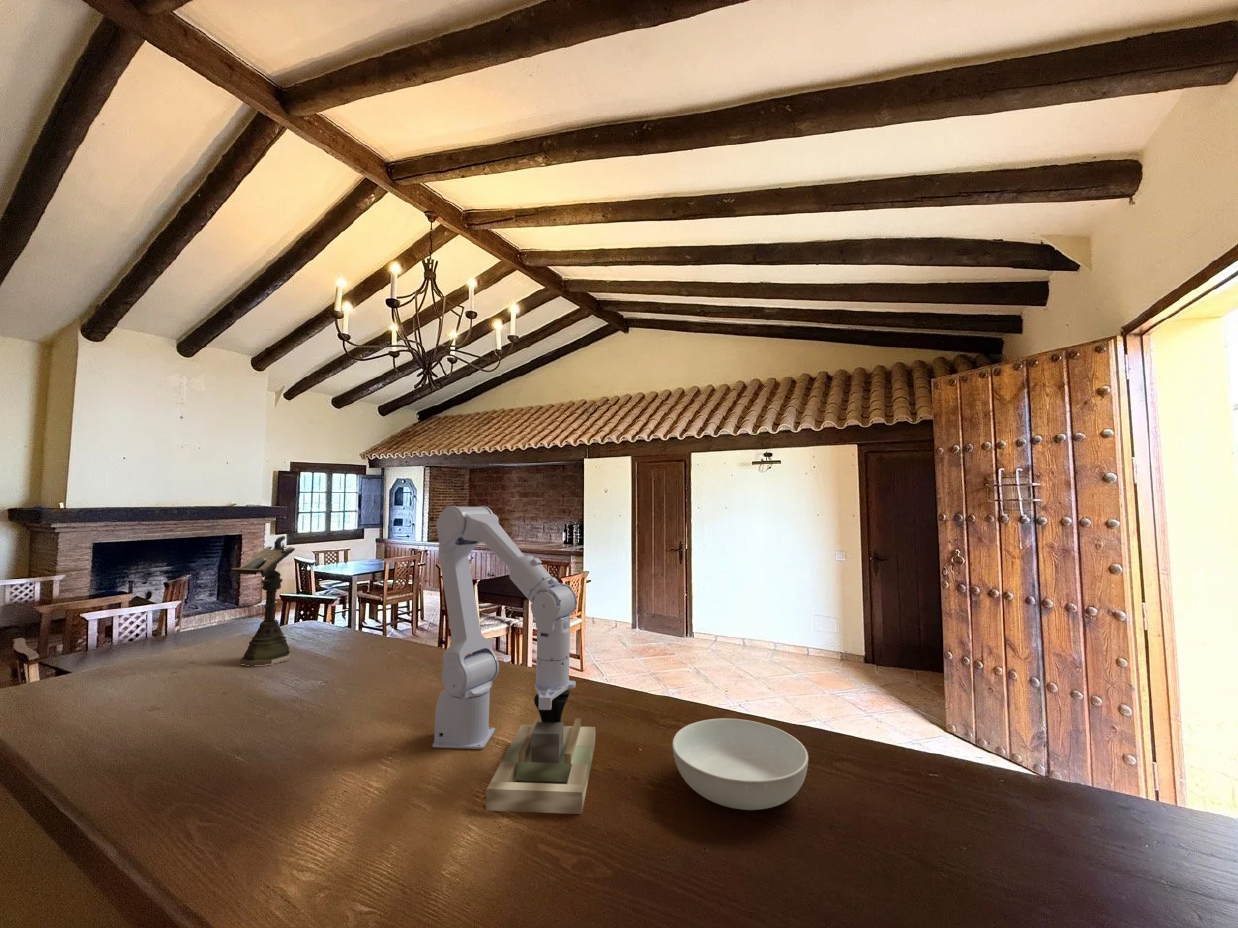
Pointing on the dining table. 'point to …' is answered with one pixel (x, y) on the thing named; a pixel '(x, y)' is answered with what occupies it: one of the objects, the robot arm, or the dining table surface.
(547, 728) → the charcoal block
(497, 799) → the railed deck
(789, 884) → the dining table surface
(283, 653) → the lectern
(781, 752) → the serving bowl
